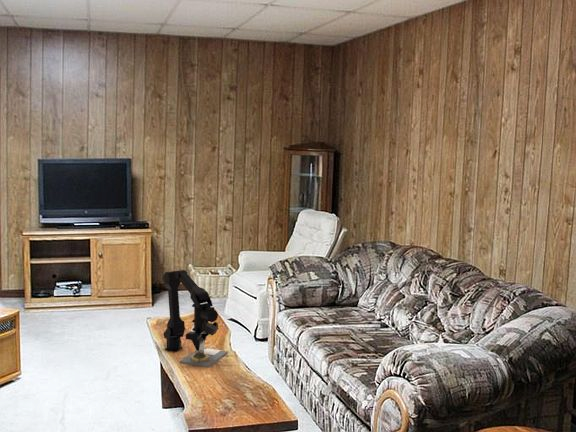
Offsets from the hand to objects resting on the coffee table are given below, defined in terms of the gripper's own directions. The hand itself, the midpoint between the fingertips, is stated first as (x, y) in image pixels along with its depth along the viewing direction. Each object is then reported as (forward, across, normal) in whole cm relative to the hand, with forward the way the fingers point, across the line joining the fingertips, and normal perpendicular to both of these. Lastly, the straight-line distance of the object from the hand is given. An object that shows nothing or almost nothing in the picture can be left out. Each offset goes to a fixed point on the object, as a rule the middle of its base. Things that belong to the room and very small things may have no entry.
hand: (199, 349), depth 325 cm
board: (+6, +5, 0) cm, 8 cm away
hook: (+6, +33, +20) cm, 39 cm away
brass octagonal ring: (+5, 0, 0) cm, 5 cm away
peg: (+2, 0, 0) cm, 2 cm away
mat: (+5, +12, 0) cm, 13 cm away
